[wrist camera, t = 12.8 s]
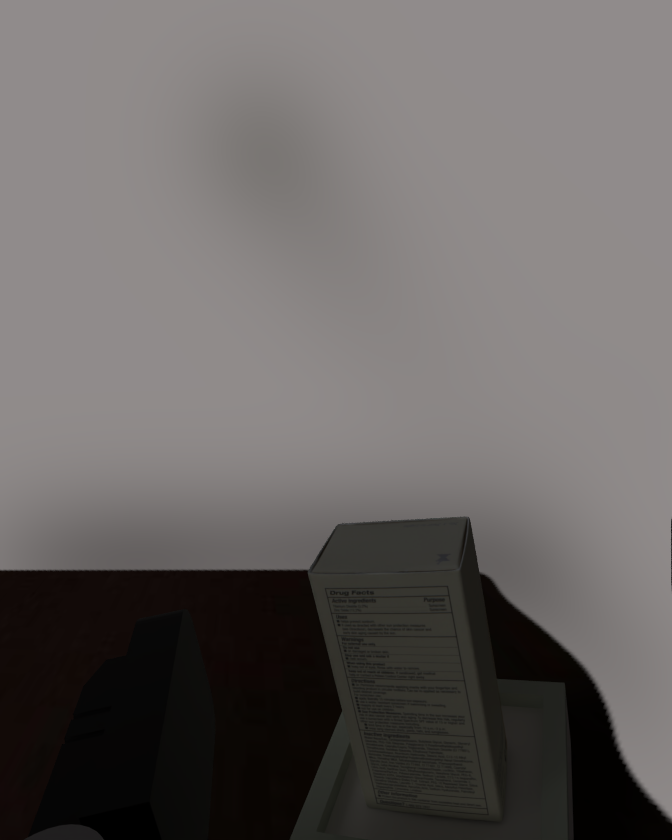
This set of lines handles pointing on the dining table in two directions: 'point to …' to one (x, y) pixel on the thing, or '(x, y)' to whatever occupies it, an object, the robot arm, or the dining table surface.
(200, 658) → the robot arm
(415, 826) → the shallow open tray
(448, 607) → the skincare box
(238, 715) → the dining table surface
